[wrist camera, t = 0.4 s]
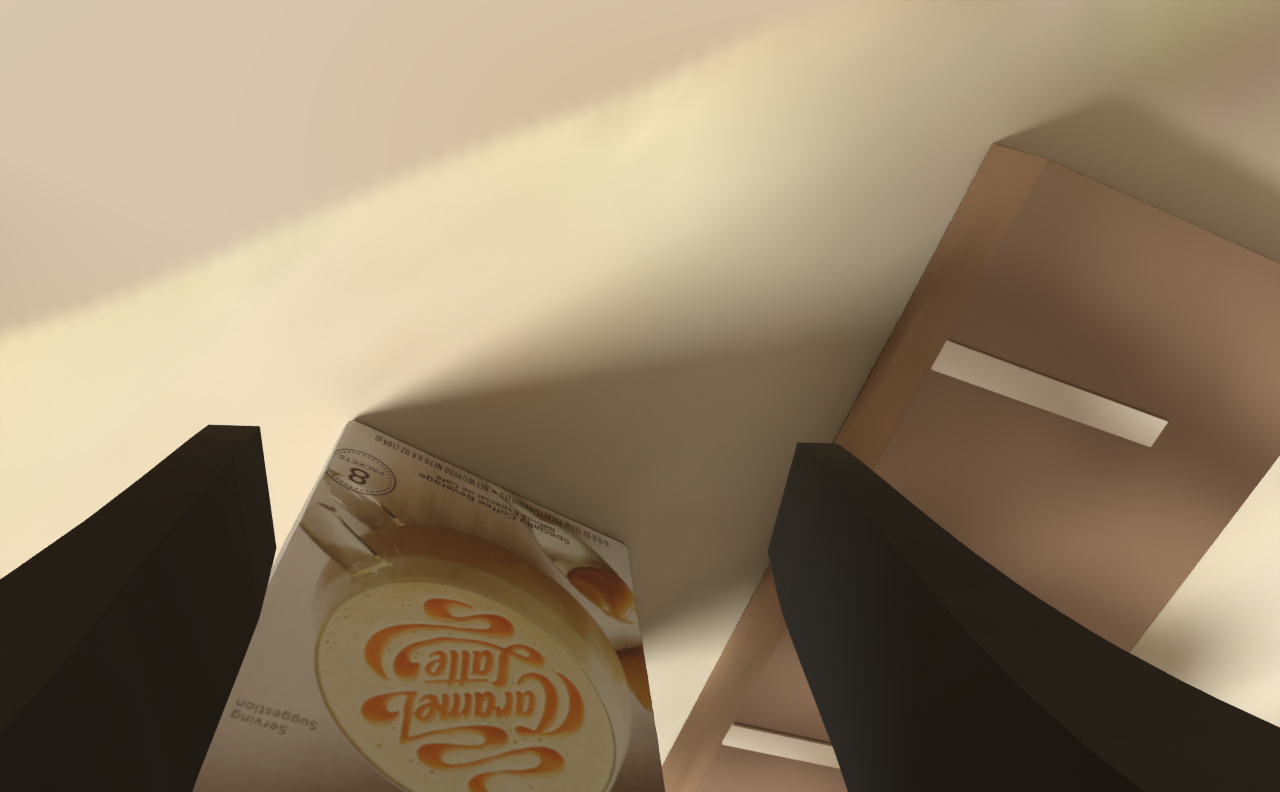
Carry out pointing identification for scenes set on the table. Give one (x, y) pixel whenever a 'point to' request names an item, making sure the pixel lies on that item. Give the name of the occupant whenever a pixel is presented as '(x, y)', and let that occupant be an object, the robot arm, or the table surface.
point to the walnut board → (1035, 434)
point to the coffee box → (437, 644)
